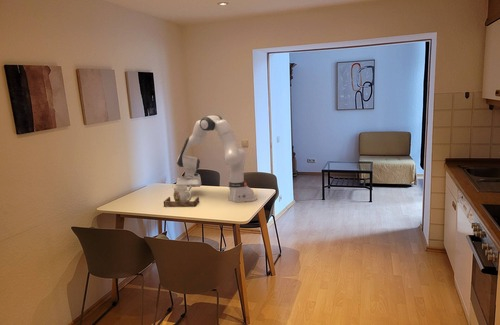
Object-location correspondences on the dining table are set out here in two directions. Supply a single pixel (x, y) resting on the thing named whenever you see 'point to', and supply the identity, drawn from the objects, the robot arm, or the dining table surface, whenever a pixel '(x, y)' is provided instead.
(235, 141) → the robot arm
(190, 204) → the tray
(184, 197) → the pitcher
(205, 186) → the dining table surface
